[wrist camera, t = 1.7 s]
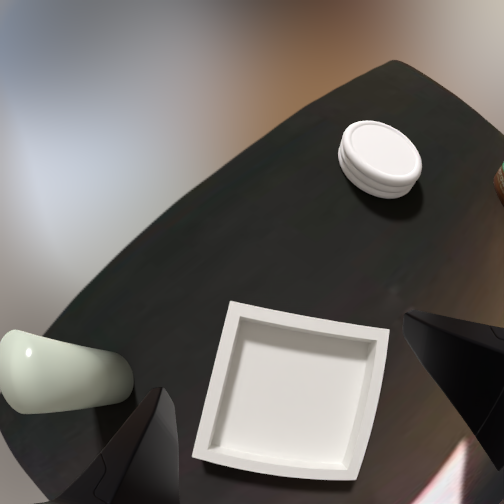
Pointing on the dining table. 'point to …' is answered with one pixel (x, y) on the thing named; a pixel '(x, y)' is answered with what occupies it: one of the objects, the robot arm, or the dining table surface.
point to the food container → (499, 183)
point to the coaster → (379, 159)
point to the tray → (292, 394)
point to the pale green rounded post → (59, 375)
